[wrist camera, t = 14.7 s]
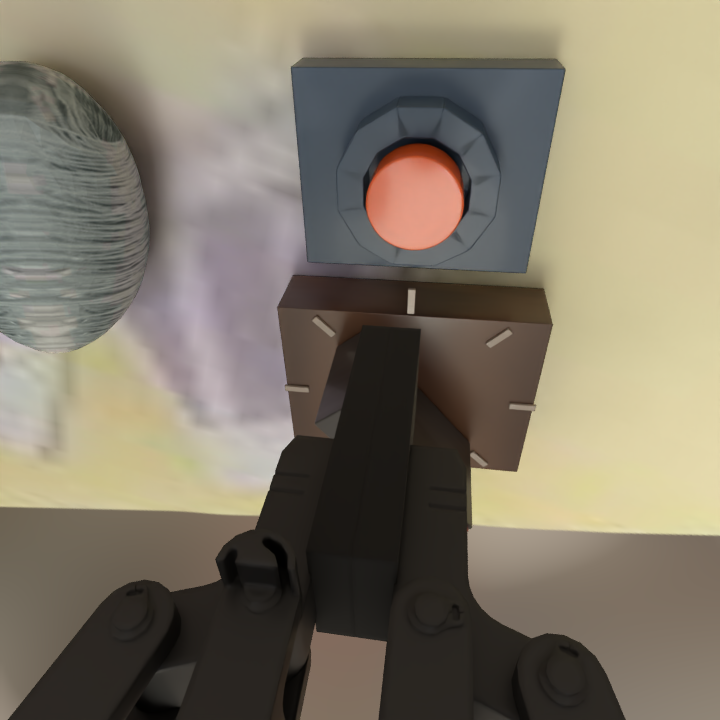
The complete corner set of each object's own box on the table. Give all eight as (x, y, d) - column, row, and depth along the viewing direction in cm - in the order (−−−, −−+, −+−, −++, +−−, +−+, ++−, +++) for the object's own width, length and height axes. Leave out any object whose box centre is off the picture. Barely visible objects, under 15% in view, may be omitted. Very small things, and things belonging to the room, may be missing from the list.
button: (370, 231, 25) (365, 248, 23) (370, 141, 22) (364, 154, 21) (459, 235, 24) (459, 253, 23) (468, 143, 22) (469, 157, 20)
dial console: (308, 430, 39) (296, 469, 36) (288, 249, 30) (270, 281, 27) (510, 448, 37) (514, 491, 34) (552, 261, 28) (562, 298, 25)
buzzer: (316, 243, 30) (299, 279, 26) (302, 57, 24) (279, 75, 21) (522, 253, 28) (530, 292, 25) (557, 58, 23) (573, 77, 20)
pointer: (336, 346, 29) (311, 428, 24) (364, 329, 28) (345, 410, 23) (442, 454, 33) (440, 543, 28) (470, 442, 32) (473, 532, 27)
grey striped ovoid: (-116, -1, 22) (-176, 160, 17) (138, 37, 25) (150, 180, 20) (-21, 242, 33) (-41, 383, 28) (148, 245, 36) (157, 371, 31)
